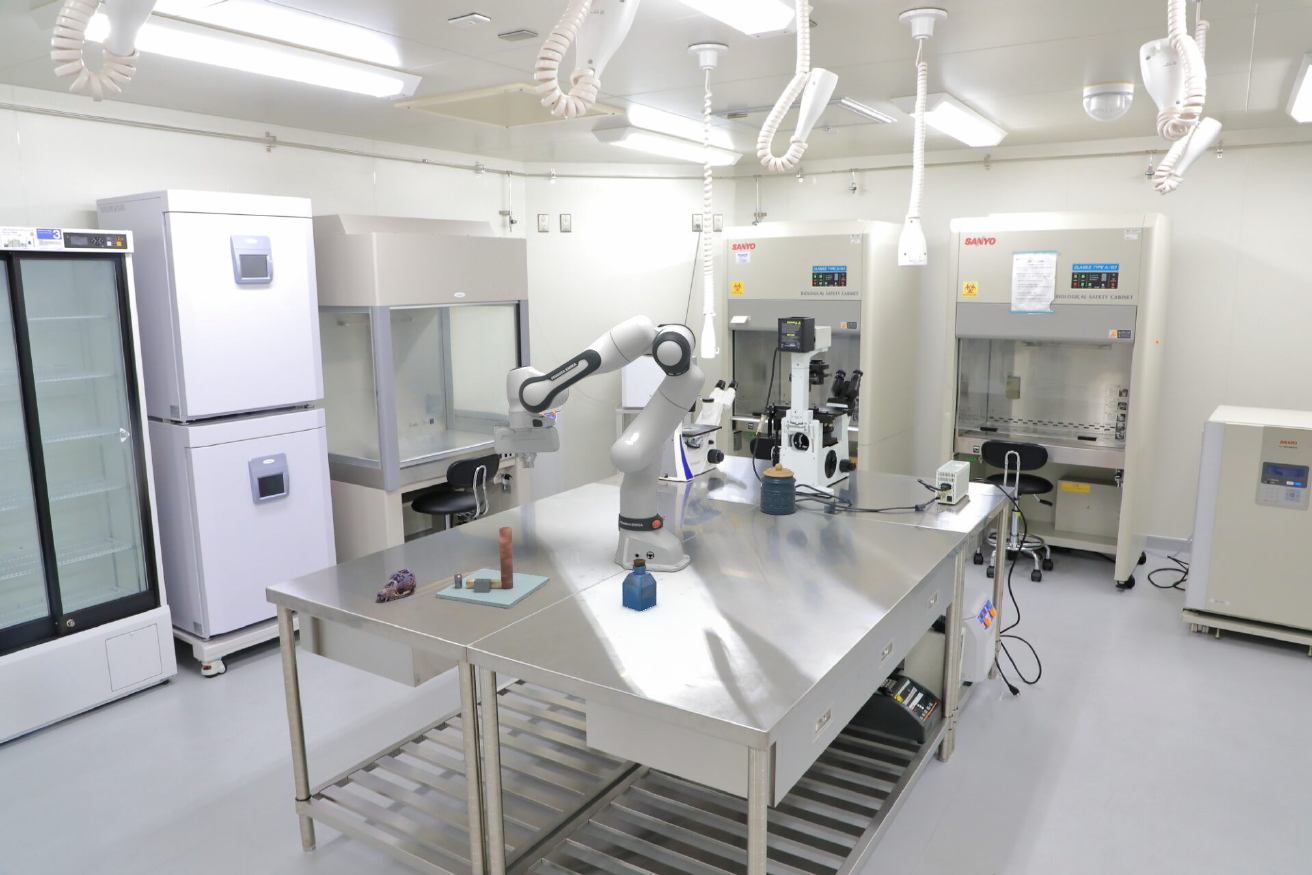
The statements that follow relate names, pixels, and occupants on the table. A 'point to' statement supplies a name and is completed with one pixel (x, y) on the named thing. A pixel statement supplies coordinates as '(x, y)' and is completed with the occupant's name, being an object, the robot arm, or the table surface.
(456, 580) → the hinge pin
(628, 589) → the perfume bottle
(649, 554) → the robot arm
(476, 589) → the block
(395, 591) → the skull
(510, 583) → the brown piece
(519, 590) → the board
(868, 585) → the table surface
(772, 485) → the canister
